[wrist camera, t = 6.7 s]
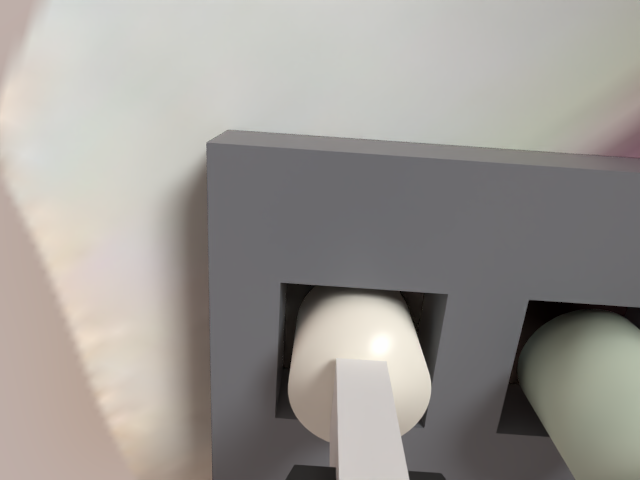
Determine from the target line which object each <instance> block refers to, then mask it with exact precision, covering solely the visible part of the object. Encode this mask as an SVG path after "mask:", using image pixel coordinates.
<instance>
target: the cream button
mask: <svg viewBox="0 0 640 480" xmlns="http://www.w3.org/2000/svg"><path fill="white" fill-rule="evenodd" d="M336 358H345V359H360V360H374V361H387V366H388V372H389V377H390V382H391V387H392V392H393V397H394V403H395V408H396V413H397V418H398V423H399V428H400V434H401V436H402V435H404V434H405V433H407V432H408V431H409V430H411V429H412V428H413V427H414V426H415V425H416V424H417V423H418V421H419V420H420V419H421V418H422V416H423V414H424V413H425V411H426V409H427V406H428V404H429V400H430V397H431V379H430V374H429V371H428V368H427V365H426V362H425V358H424V355H423V352H422V349H421V346H420V343H419V340H418V337H417V334H416V330H415V327H414V324H413V321H412V318H411V315H410V312H409V309H408V306H407V304H406V302H405V300H404V298H403V296H402V295H401V294H400V293H399V291H395V290H380V289H366V288H351V287H337V286H322V285H316V286H315V287H314V288H313V289H312V290H311V291H310V292H309V293H308V294H307V295H306V297H305V298H304V300H303V301H302V303H301V306H300V308H299V311H298V316H297V323H296V330H295V338H294V345H293V352H292V360H291V367H290V374H289V382H288V396H289V402H290V404H291V407H292V410H293V412H294V414H295V415H296V417H297V418H298V420H299V421H300V422H301V423H302V425H303V426H304V427H305V428H306V429H308V430H309V431H310V432H311V433H313V434H314V435H316V436H317V437H319V438H321V439H323V440H325V441H327V442H330V422H331V411H332V400H333V389H334V378H335V367H336Z"/></svg>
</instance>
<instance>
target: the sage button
mask: <svg viewBox="0 0 640 480" xmlns="http://www.w3.org/2000/svg"><path fill="white" fill-rule="evenodd" d="M517 375H518V381H519V384H520V386H521V388H522V390H523V392H524V394H525V395H526V397H527V399H528V401H529V402H530V404H531V406H532V407H533V409H534V411H535V412H536V414H537V416H538V417H539V419H540V421H541V422H542V424H543V426H544V427H545V429H546V431H547V433H548V434H549V436H550V438H551V439H552V441H553V443H554V444H555V446H556V448H557V449H558V451H559V453H560V454H561V456H562V458H563V459H564V461H565V463H566V464H567V466H568V468H569V470H570V471H571V473H572V475H573V476H574V478H575V480H640V329H638V328H637V327H636V326H635V325H634V324H633V323H631V322H630V321H629V320H628V319H626V318H625V317H623V316H621V315H619V314H617V313H614V312H611V311H607V310H602V309H581V310H576V311H571V312H568V313H565V314H562V315H560V316H558V317H555V318H553V319H552V320H550V321H548V322H547V323H545V324H544V325H543V326H541V327H540V328H539V329H538V330H537V331H535V332H534V333H533V335H532V336H531V337H530V338H529V339H528V341H527V342H526V344H525V345H524V347H523V349H522V351H521V353H520V356H519V359H518V365H517Z"/></svg>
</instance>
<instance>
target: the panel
mask: <svg viewBox="0 0 640 480" xmlns="http://www.w3.org/2000/svg"><path fill="white" fill-rule="evenodd" d="M206 147H207V202H208V257H209V313H210V368H211V423H212V479H213V480H285V479H286V478H287V476H288V474H289V473H290V471H291V469H292V468H293V466H294V465H310V466H325V467H330V442H327V441H325V440H323V439H321V438H319V437H317V436H316V435H314V434H313V433H311V432H310V431H309V430H308V429H306V428H305V427H304V426H303V425H302V423H301V422H300V421H299V420H298V418H297V417H296V415H295V414H294V412H293V410H292V407H291V404H290V402H289V396H288V382H289V374H290V369H288V368H283V358H284V336H285V313H286V291H287V283H294V284H308V285H322V286H337V287H351V288H366V289H380V290H395V291H409V292H424V298H423V304H422V311H421V317H420V323H419V330H418V336H417V337H418V340H419V343H420V346H421V349H422V352H423V355H424V358H425V362H426V365H427V368H428V371H429V374H430V379H431V397H430V400H429V404H428V406H427V409H426V411H425V413H424V414H423V416H422V418H421V419H420V420H419V421H418V423H417V424H416V425H415V426H414V427H413V428H412V429H411V430H409V431H408V432H407V433H405V434H404V435H402V436H401V439H402V444H403V449H404V454H405V459H406V465H407V470H408V471H419V472H434V473H442V475H443V476H444V477H445V479H446V480H575V478H574V476H573V475H572V473H571V471H570V470H569V468H568V466H567V464H566V463H565V461H564V459H563V458H562V456H561V454H560V453H559V451H558V449H557V448H556V446H555V444H554V443H553V441H552V439H551V438H550V436H549V434H548V433H547V431H546V429H545V427H544V426H543V424H542V422H541V421H540V419H539V417H538V416H537V414H536V412H535V411H534V409H533V407H532V406H531V404H530V402H529V401H528V399H527V397H526V395H525V394H524V392H523V390H522V388H521V386H520V384H508V383H509V379H510V375H511V371H512V367H513V363H514V358H515V354H516V350H517V346H518V342H519V338H520V334H521V330H522V326H523V322H524V318H525V314H526V310H527V305H528V301H529V300H539V301H554V302H568V303H582V304H597V305H611V306H626V307H628V308H627V311H626V314H625V318H626V319H628V320H629V321H630V322H631V323H633V324H634V325H635V326H636V327H637V328H638V329H640V158H626V157H611V156H597V155H583V154H568V153H554V152H540V151H525V150H511V149H496V148H482V147H468V146H453V145H439V144H425V143H410V142H396V141H381V140H367V139H353V138H338V137H324V136H310V135H295V134H281V133H266V132H252V131H238V130H227V131H225V132H223V133H222V134H220V135H218V136H217V137H215V138H213V139H212V140H210V141H208V142H206Z"/></svg>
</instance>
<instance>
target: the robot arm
mask: <svg viewBox="0 0 640 480" xmlns="http://www.w3.org/2000/svg"><path fill="white" fill-rule="evenodd" d="M285 480H446V479H445V477H444V476H443V475H442V473H434V472H419V471H408V470H407V465H406V459H405V454H404V449H403V444H402V439H401V434H400V428H399V423H398V418H397V413H396V408H395V403H394V397H393V392H392V387H391V382H390V377H389V372H388V366H387V361H374V360H360V359H345V358H336V367H335V378H334V389H333V400H332V411H331V422H330V467H325V466H310V465H294V466H293V468H292V469H291V471H290V473H289V474H288V476H287V478H286V479H285Z"/></svg>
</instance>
